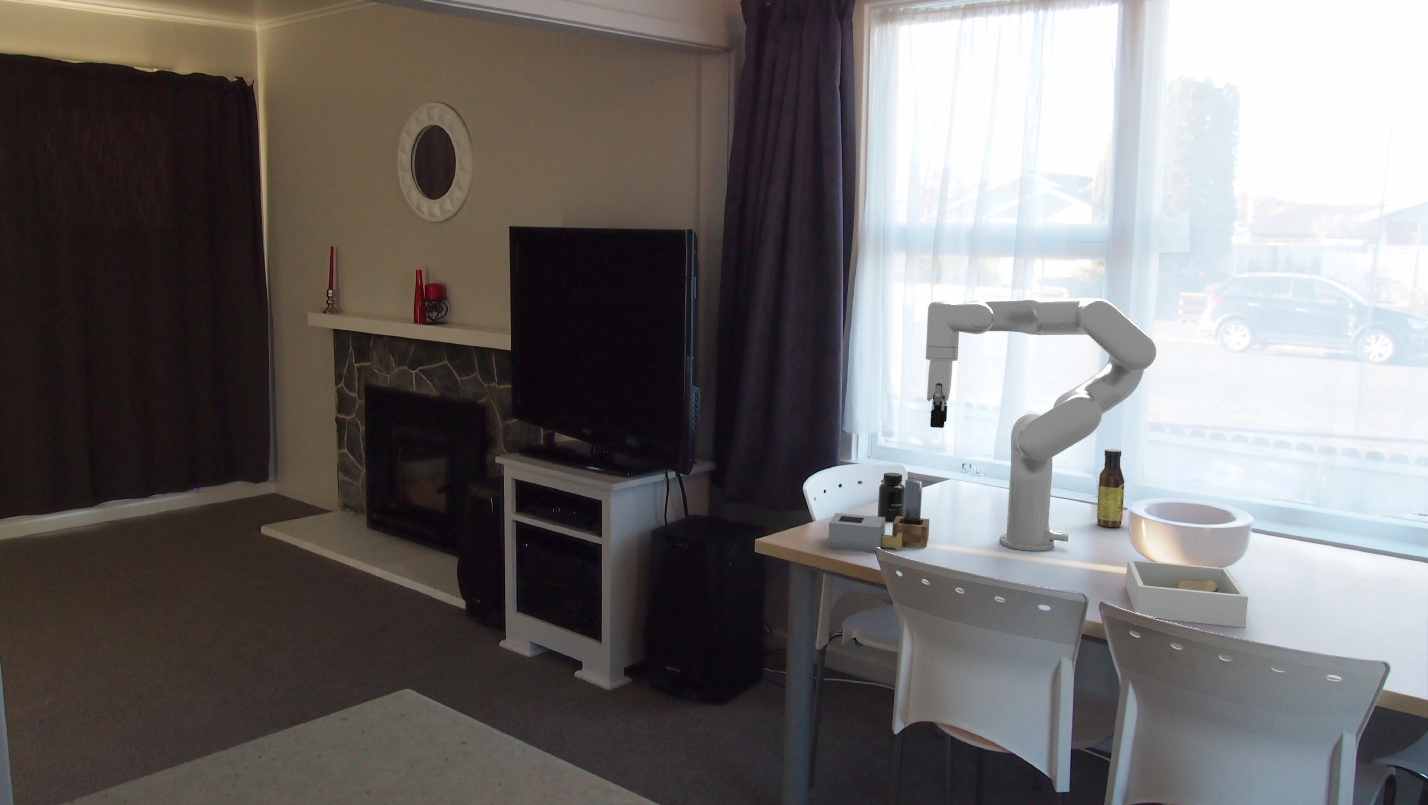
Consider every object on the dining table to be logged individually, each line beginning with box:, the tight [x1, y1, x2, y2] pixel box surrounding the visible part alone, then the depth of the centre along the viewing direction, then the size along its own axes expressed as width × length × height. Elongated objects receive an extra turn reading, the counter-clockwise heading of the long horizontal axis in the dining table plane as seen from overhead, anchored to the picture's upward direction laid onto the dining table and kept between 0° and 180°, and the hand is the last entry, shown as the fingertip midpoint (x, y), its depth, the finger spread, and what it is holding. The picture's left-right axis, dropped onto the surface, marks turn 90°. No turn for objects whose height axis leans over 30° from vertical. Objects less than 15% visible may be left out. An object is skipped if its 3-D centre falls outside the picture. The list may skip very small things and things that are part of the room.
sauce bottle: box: [1096, 448, 1125, 528], centre depth 264 cm, size 6×6×20 cm
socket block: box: [827, 512, 886, 553], centre depth 242 cm, size 12×10×6 cm
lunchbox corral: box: [1125, 559, 1249, 629], centre depth 202 cm, size 19×19×6 cm
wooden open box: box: [891, 516, 930, 549], centre depth 246 cm, size 8×8×5 cm
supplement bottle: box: [877, 472, 905, 522], centre depth 267 cm, size 7×7×12 cm
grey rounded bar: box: [903, 478, 923, 525], centre depth 245 cm, size 4×4×14 cm
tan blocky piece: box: [881, 531, 904, 551], centre depth 241 cm, size 9×4×4 cm, turn 74°
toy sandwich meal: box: [1178, 580, 1218, 593], centre depth 204 cm, size 12×14×5 cm
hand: (938, 424), depth 246 cm, fingers open, 9 cm apart
